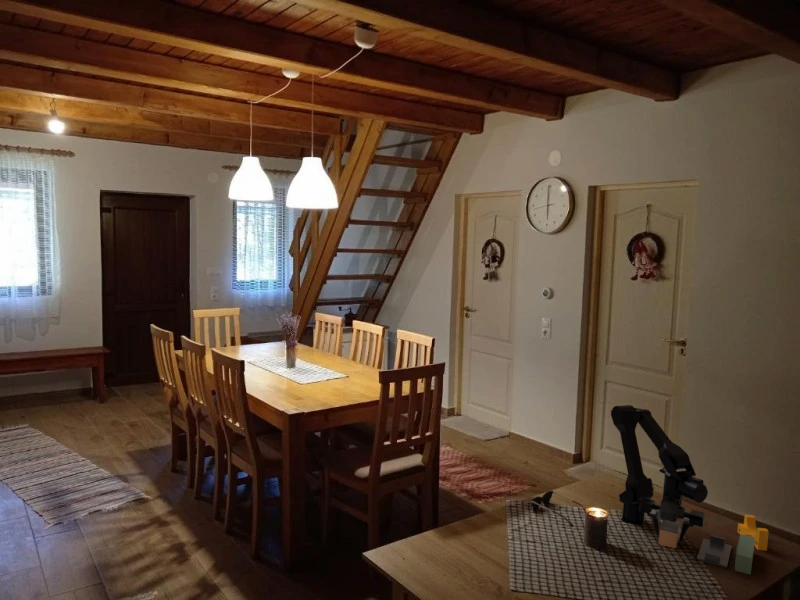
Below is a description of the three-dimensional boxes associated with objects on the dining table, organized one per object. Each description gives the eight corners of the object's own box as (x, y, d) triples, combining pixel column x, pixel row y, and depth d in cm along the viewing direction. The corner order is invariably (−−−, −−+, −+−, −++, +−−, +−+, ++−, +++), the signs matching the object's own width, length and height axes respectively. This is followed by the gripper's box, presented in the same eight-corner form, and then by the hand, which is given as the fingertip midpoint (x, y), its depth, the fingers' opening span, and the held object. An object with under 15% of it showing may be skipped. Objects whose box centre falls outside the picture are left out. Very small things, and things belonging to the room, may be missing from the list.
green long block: (733, 569, 179) (734, 553, 178) (737, 548, 192) (738, 533, 192) (750, 574, 176) (751, 558, 176) (753, 553, 190) (755, 537, 189)
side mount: (696, 559, 184) (697, 551, 184) (703, 540, 197) (704, 532, 197) (726, 568, 180) (727, 559, 179) (731, 547, 193) (732, 539, 193)
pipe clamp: (737, 532, 204) (739, 513, 204) (751, 534, 204) (753, 515, 203) (751, 549, 193) (753, 529, 192) (766, 551, 192) (768, 531, 191)
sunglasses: (550, 502, 223) (552, 489, 222) (591, 520, 212) (593, 506, 211) (529, 512, 213) (531, 499, 212) (570, 531, 202) (572, 517, 201)
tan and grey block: (658, 544, 193) (659, 527, 192) (662, 534, 200) (663, 517, 200) (675, 549, 190) (677, 531, 190) (679, 538, 198) (680, 521, 198)
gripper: (636, 490, 192) (633, 538, 194) (702, 506, 182) (698, 556, 184) (644, 480, 202) (640, 526, 203) (707, 494, 192) (702, 542, 193)
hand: (669, 537), depth 195 cm, fingers open, 6 cm apart
